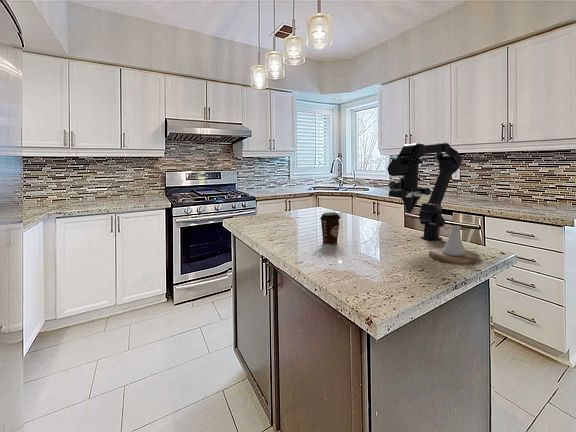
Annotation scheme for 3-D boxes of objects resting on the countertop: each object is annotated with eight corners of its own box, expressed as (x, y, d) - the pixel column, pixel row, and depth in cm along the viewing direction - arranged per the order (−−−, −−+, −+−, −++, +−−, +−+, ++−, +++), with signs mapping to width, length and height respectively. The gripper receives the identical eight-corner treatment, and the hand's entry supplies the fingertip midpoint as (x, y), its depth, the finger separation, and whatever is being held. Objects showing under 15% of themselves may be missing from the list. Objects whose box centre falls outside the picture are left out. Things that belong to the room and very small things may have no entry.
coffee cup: (342, 241, 138) (342, 212, 136) (338, 246, 131) (338, 215, 128) (322, 240, 141) (322, 211, 139) (318, 244, 133) (318, 214, 131)
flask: (470, 255, 110) (472, 227, 108) (452, 257, 108) (454, 229, 106) (454, 250, 117) (456, 224, 115) (437, 252, 115) (439, 225, 113)
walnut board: (447, 248, 123) (447, 245, 123) (489, 259, 109) (489, 255, 109) (419, 255, 116) (419, 251, 116) (460, 267, 102) (460, 263, 102)
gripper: (410, 174, 139) (409, 208, 142) (379, 175, 131) (378, 212, 133) (432, 174, 130) (430, 211, 132) (400, 176, 121) (398, 216, 124)
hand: (409, 213), depth 131 cm, fingers closed
